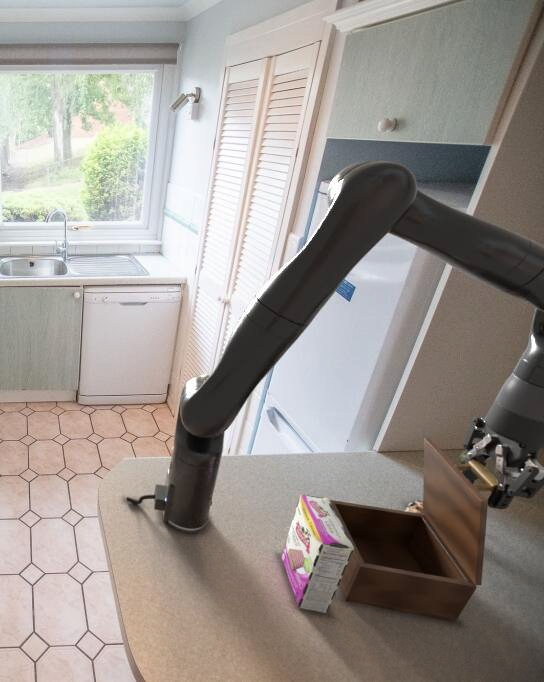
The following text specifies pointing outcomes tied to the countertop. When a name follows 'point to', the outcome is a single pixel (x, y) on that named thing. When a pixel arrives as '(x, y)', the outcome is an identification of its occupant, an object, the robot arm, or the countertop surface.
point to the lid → (457, 506)
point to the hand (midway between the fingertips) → (481, 491)
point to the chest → (401, 563)
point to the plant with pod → (418, 506)
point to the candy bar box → (316, 553)
